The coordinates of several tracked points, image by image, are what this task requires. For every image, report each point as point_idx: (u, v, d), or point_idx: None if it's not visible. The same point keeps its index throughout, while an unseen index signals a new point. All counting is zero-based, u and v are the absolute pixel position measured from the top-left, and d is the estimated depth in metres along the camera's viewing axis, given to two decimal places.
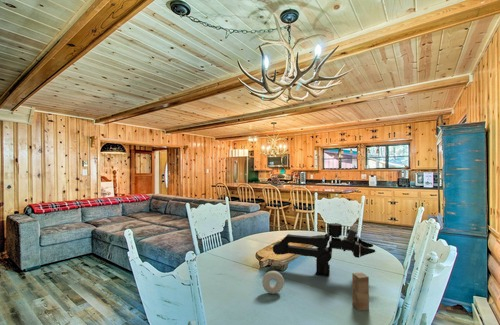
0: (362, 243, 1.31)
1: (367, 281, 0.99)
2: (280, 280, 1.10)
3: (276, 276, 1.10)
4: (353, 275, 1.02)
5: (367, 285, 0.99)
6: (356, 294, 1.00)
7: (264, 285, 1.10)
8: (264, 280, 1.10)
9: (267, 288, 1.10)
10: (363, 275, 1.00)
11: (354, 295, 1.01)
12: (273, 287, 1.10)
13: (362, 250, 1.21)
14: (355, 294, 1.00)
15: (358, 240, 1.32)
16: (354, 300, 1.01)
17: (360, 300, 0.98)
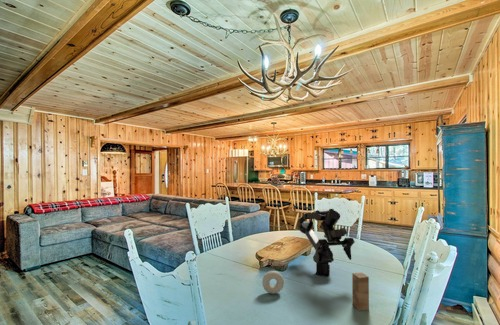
0: (346, 249, 1.20)
1: (367, 281, 0.99)
2: (280, 280, 1.10)
3: (276, 276, 1.10)
4: (353, 275, 1.02)
5: (367, 285, 0.99)
6: (356, 294, 1.00)
7: (264, 285, 1.10)
8: (264, 280, 1.10)
9: (267, 288, 1.10)
10: (363, 275, 1.00)
11: (354, 295, 1.01)
12: (273, 287, 1.10)
13: (326, 249, 1.18)
14: (355, 294, 1.00)
15: (347, 244, 1.21)
16: (354, 300, 1.01)
17: (360, 300, 0.98)
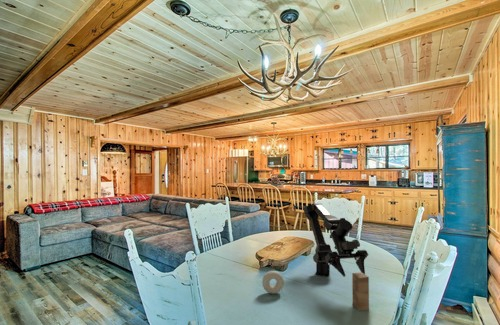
0: (359, 262, 1.09)
1: (367, 281, 0.99)
2: (280, 280, 1.10)
3: (276, 276, 1.10)
4: (353, 275, 1.02)
5: (367, 285, 0.99)
6: (356, 294, 1.00)
7: (264, 285, 1.10)
8: (264, 280, 1.10)
9: (267, 288, 1.10)
10: (363, 275, 1.00)
11: (354, 295, 1.01)
12: (273, 287, 1.10)
13: (336, 263, 1.08)
14: (355, 294, 1.00)
15: (360, 257, 1.10)
16: (354, 300, 1.01)
17: (360, 300, 0.98)
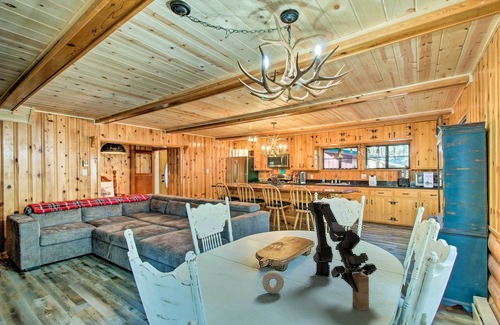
0: None
1: (367, 281, 0.99)
2: (280, 280, 1.10)
3: (276, 276, 1.10)
4: (353, 275, 1.02)
5: (367, 285, 0.99)
6: (356, 294, 1.00)
7: (264, 285, 1.10)
8: (264, 280, 1.10)
9: (267, 288, 1.10)
10: (363, 275, 1.00)
11: (354, 295, 1.01)
12: (273, 287, 1.10)
13: (348, 277, 1.03)
14: (355, 294, 1.00)
15: (363, 271, 1.04)
16: (354, 300, 1.01)
17: (360, 300, 0.98)
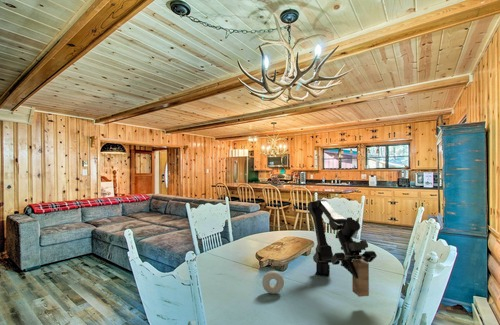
0: None
1: (367, 267, 0.99)
2: (280, 280, 1.10)
3: (276, 276, 1.10)
4: (353, 262, 1.02)
5: (367, 271, 0.99)
6: (356, 280, 1.00)
7: (264, 285, 1.10)
8: (264, 280, 1.10)
9: (267, 288, 1.10)
10: (363, 262, 1.00)
11: (354, 282, 1.01)
12: (273, 287, 1.10)
13: (348, 264, 1.03)
14: (355, 280, 1.01)
15: (363, 258, 1.04)
16: (354, 287, 1.01)
17: (360, 286, 0.98)
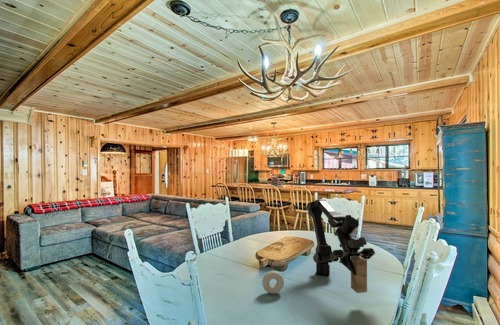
0: None
1: (365, 264, 1.00)
2: (280, 280, 1.10)
3: (276, 276, 1.10)
4: (352, 259, 1.03)
5: (365, 268, 1.00)
6: (355, 277, 1.01)
7: (264, 285, 1.10)
8: (264, 280, 1.10)
9: (267, 288, 1.10)
10: (361, 258, 1.02)
11: (352, 278, 1.02)
12: (273, 287, 1.10)
13: (347, 261, 1.04)
14: (353, 277, 1.02)
15: (362, 255, 1.05)
16: (352, 283, 1.02)
17: (358, 283, 0.99)
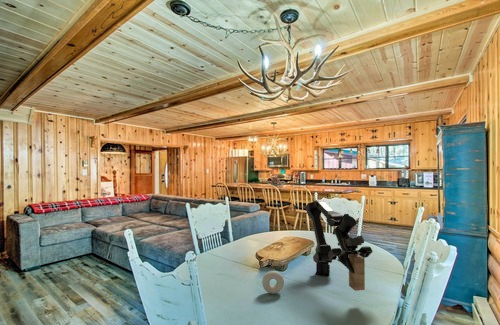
0: None
1: (363, 262, 1.02)
2: (280, 280, 1.10)
3: (276, 276, 1.10)
4: (349, 257, 1.05)
5: (363, 266, 1.02)
6: (352, 275, 1.02)
7: (264, 285, 1.10)
8: (264, 280, 1.10)
9: (267, 288, 1.10)
10: (359, 257, 1.03)
11: (350, 276, 1.04)
12: (273, 287, 1.10)
13: (345, 259, 1.06)
14: (351, 275, 1.03)
15: (359, 254, 1.07)
16: (350, 281, 1.04)
17: (356, 280, 1.01)
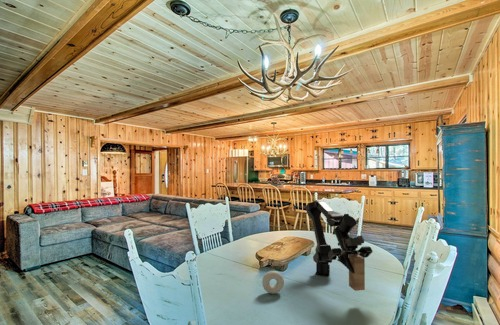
0: None
1: (363, 262, 1.02)
2: (280, 280, 1.10)
3: (276, 276, 1.10)
4: (349, 257, 1.05)
5: (363, 266, 1.02)
6: (352, 275, 1.02)
7: (264, 285, 1.10)
8: (264, 280, 1.10)
9: (267, 288, 1.10)
10: (359, 257, 1.03)
11: (350, 276, 1.04)
12: (273, 287, 1.10)
13: (345, 259, 1.06)
14: (351, 275, 1.03)
15: (359, 254, 1.07)
16: (350, 281, 1.04)
17: (356, 280, 1.01)
